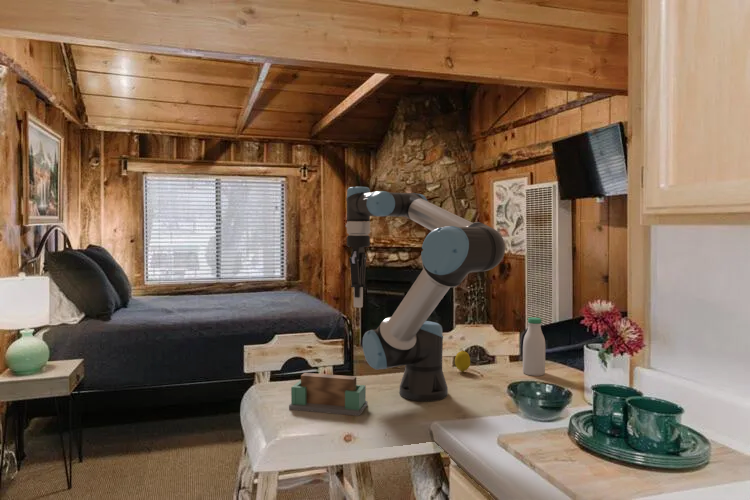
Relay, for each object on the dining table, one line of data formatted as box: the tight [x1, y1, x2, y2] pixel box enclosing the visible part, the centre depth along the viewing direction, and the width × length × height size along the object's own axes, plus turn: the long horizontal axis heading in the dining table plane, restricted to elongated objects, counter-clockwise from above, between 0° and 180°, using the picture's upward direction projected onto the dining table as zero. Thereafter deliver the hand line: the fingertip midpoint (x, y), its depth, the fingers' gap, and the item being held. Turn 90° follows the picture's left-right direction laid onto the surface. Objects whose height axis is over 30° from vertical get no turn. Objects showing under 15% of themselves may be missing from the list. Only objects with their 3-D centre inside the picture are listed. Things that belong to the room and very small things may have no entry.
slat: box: [300, 372, 357, 406], centre depth 154 cm, size 16×3×8 cm, turn 76°
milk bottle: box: [522, 316, 546, 377], centre depth 190 cm, size 8×8×20 cm
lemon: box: [454, 349, 471, 373], centre depth 191 cm, size 6×6×8 cm
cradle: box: [288, 379, 368, 417], centre depth 154 cm, size 21×9×6 cm, turn 76°
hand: (358, 306), depth 173 cm, fingers closed
